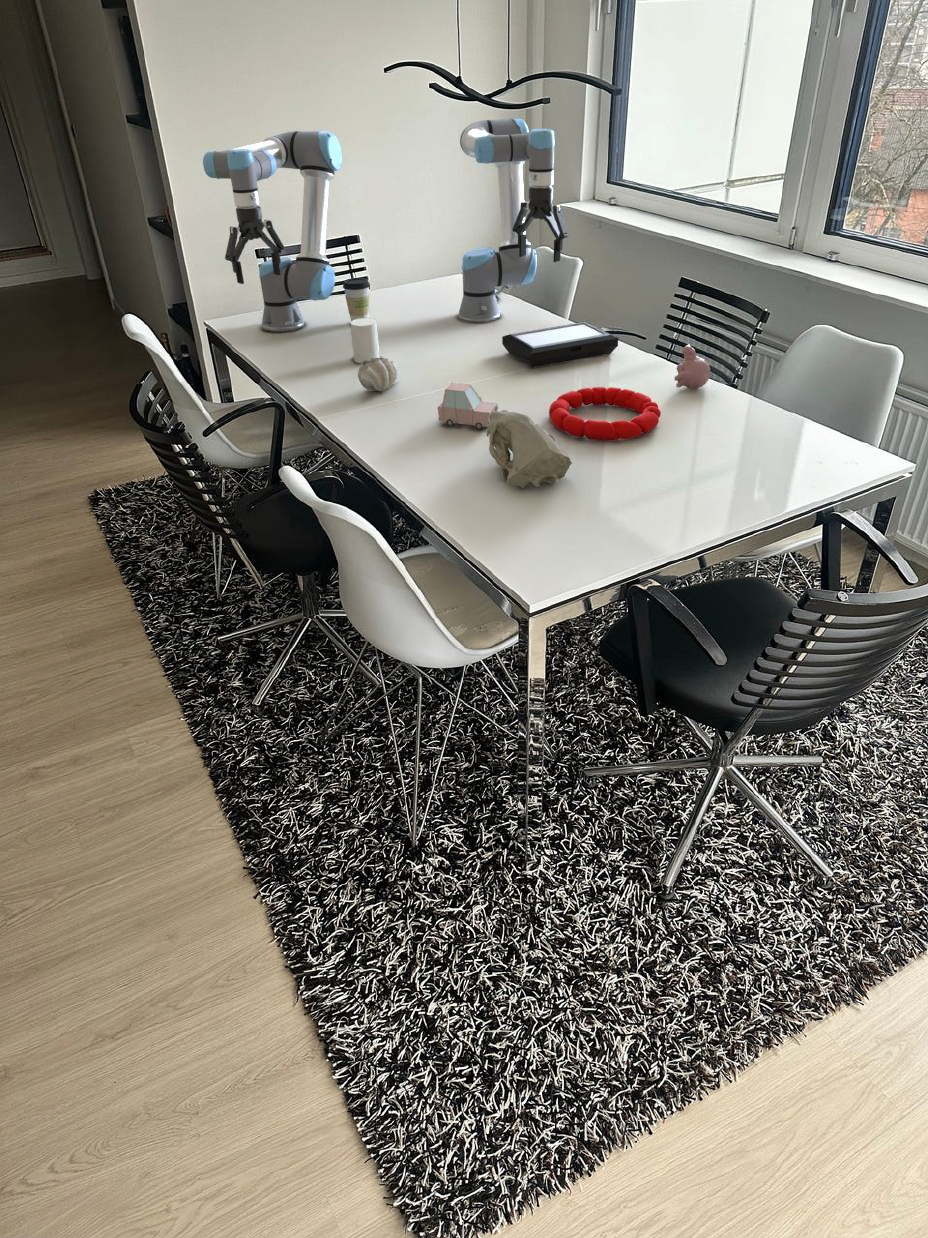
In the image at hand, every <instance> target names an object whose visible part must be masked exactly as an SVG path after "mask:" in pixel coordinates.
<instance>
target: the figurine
mask: <svg viewBox="0 0 928 1238" xmlns="http://www.w3.org/2000/svg"><path fill="white" fill-rule="evenodd" d="M682 354H683V358H684V359H683V361H682V362H679V363H678V364H677V365H676V372H677V375H675V376H674V381H675V382H676V381H677V382H676V384H675V386H676V388H681V387H686V388H688V389H693V390H694V389H695V390H696V389H700V388H703V387H704V386H705V385H706V384H707V383H708V382H709V379H710V377H711V367H710V364H709V362H708V361H706V359H704V358H702V357H700V356H697V353H696V350H695V349H694V347H692V345H690V344H686V345H685V346H684V347H683V348H682Z"/></svg>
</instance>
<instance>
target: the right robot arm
mask: <svg viewBox="0 0 928 1238" xmlns="http://www.w3.org/2000/svg"><path fill="white" fill-rule="evenodd" d="M459 137H460V138H459V145H460V148H461V150H462V152H463V153H464V154H465V155H466V156H468V157H471V158H475V162H477V163H478V164H487V165H489V164H493V166H494V167H496V170H497V177H498V178H497V179H498V194H499V209H500V222H501V223H500V225H501V226H500V227H501V240H502V241H501V243H500V244H499V245H498V251H496V250H495V248H493V247H478V248H475V249H470V250H469V251H466V252H465V253H464V254H463V256H462V263H461V270H462V293H463V295H462V299H461V303H460V307H459V310H458V318H459V319H460V320H461V321H463V322H467V323H490V322H493V321H496V320H498V319H499V318H500V317H501V310H500V308H499V304H498V302H499V300H500V297H499V296H498V294H500V293H502V292H503V290H505V289H509V287H510V286H523V285H529V284H531V283H533V281H534V279H535V276H536V273H537V265H538V264H537V263H538V257H537V251H536V249H534V248H532V244H531V242H530V241H528V239H527V229H528V228H529V226H530V225H531V224H532V222H533V221H534V220H537V219H539V220H543V221H544V222H546V224H547V225H548V227H549V230H551V232H552V235H553V236H554V238H555V239H554V240H553V258H552V259H553V260H552V261H553V263H557V262H560V261H561V254H562V253H561V252H562V250H563V249H564V241H563V240H564V239H567V238H569V232H568V228H567V226H566V222H565V220H564V217H563V213H562V205H561V204H555V205H553V198H554V187H553V185H554V163H555V144H556V141H555V132H554V130H553V129H552V128H534V129H531V130H530V131H529V127H528V124H527V123H526V122H525V120H524V119H522V118H512V117H511V118H500V119H499V118H498V119H497V118H496V119H481V120H477V121H474V122H472V123H470V124H469V125H467V126H466V127H465V128H464V129H463V130H462V132H461V134H460V136H459ZM526 162H528V185H529V187H528V200H529V201H528V200H525V195H524V193H525V192H524V179H523V178H524V176H523V165H525V163H526ZM528 210H529V212H528ZM527 212H528V214H527ZM526 215H527V216H526ZM498 287H501V288H499V290H497V291H496V288H498Z"/></svg>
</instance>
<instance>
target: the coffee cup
mask: <svg viewBox="0 0 928 1238" xmlns="http://www.w3.org/2000/svg"><path fill="white" fill-rule="evenodd" d="M370 287H371V283H370V282H369V279H367V278H365V277H351V278H347V279H345V280H344V281H343V285H342V288H343V290H344V297H345V301H346V305H347V310H348V314H349V318H350V322H351V321H353V320H356V319H361V318H369V317H370V316H369V313H370Z"/></svg>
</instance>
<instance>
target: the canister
mask: <svg viewBox="0 0 928 1238" xmlns="http://www.w3.org/2000/svg"><path fill="white" fill-rule="evenodd" d="M377 322H378V321H377V320H376V319H375V318H371V317H370V318H369V317H368V318H361V319H356V320H353V321H351V320H350V332H351V341H352V342H351V343H352V352H353V361H354V362H355V363H357V364H361V363H362V362H363V361H366V360H367V361H370V359H371V358H381V357H380V348H379V347H380V346H379V334H378V333H379V332H378V323H377Z"/></svg>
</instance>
